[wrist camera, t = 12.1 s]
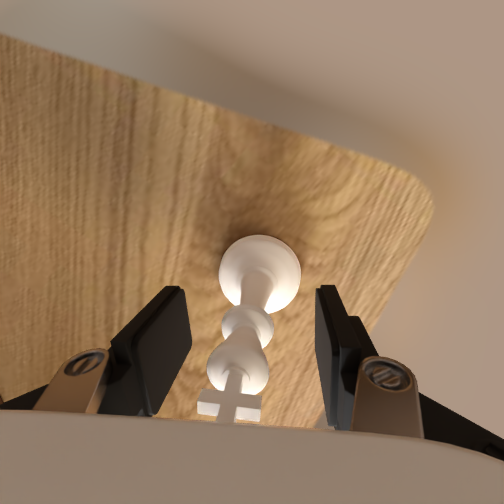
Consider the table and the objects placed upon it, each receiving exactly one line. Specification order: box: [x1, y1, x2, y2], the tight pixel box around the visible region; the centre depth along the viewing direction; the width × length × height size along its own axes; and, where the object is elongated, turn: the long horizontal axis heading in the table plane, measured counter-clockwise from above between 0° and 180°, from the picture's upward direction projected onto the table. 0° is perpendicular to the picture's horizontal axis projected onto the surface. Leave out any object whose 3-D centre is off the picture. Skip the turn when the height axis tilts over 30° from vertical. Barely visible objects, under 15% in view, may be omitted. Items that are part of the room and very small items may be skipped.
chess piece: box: [197, 235, 301, 423], centre depth 11 cm, size 5×5×10 cm
